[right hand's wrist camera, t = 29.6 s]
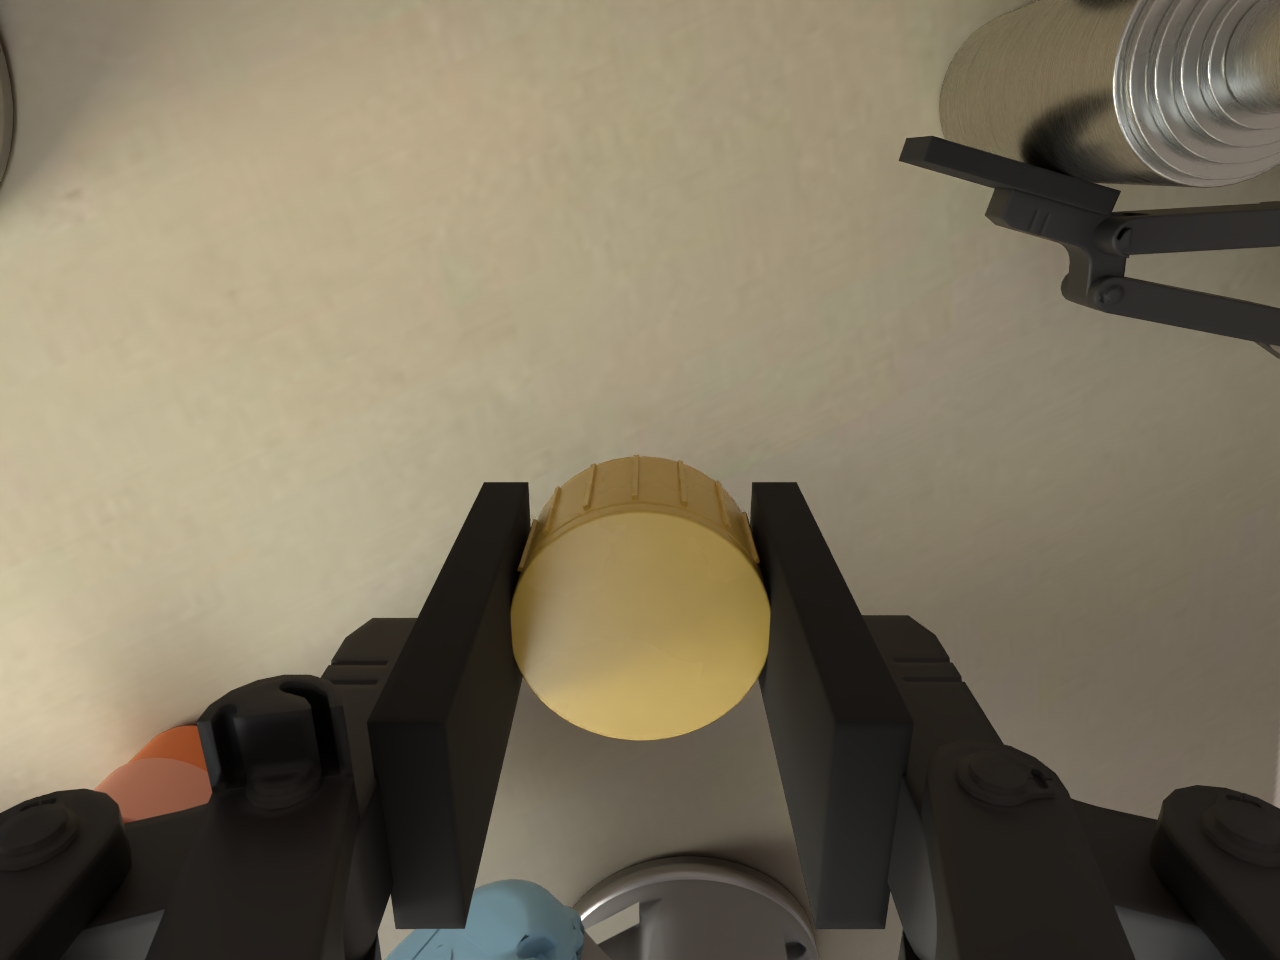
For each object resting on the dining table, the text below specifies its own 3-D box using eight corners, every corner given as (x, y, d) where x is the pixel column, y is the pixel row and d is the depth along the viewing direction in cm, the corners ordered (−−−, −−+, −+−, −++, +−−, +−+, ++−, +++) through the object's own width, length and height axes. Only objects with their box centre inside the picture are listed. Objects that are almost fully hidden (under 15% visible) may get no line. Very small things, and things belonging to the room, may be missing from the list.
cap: (493, 610, 15) (466, 689, 13) (579, 414, 14) (566, 463, 11) (694, 688, 15) (702, 777, 13) (795, 507, 14) (823, 571, 12)
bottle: (949, 10, 32) (1283, -154, 15) (1108, 11, 32) (1611, -153, 15) (929, 178, 34) (1203, 193, 18) (1077, 179, 34) (1490, 194, 18)
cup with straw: (283, 705, 43) (55, 1054, 26) (294, 841, 46) (99, 1230, 29) (104, 693, 43) (-242, 1039, 26) (128, 832, 46) (-165, 1218, 29)
